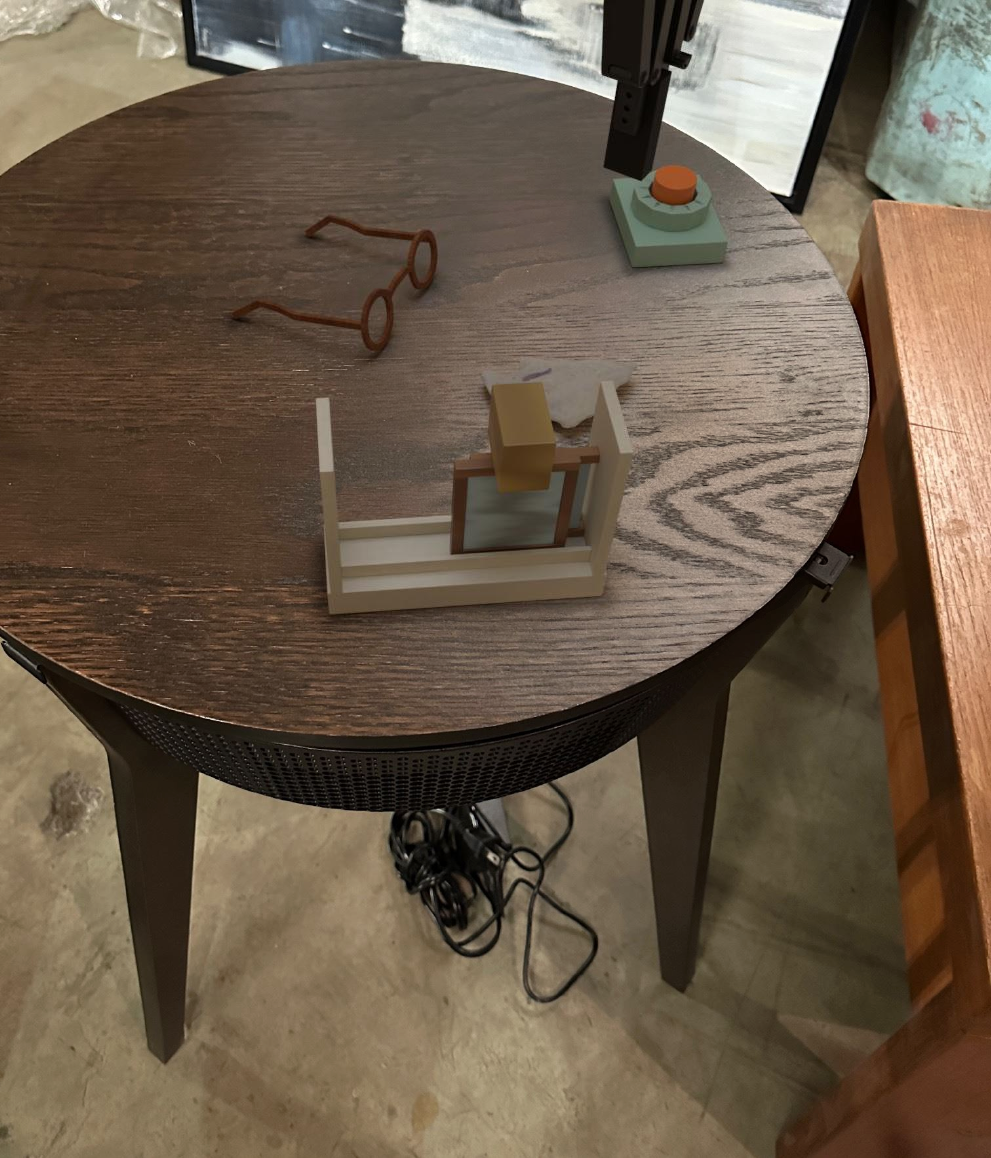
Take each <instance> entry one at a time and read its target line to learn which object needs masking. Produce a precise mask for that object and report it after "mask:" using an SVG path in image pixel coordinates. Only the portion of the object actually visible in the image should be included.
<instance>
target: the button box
mask: <svg viewBox="0 0 991 1158" xmlns="http://www.w3.org/2000/svg"><path fill="white" fill-rule="evenodd" d="M657 170H658V169H655V170H652V171H651V172H650V173H649V174H648V175H647V176H646V177H645V178H644V179H643V180H642V181H638V180H636V179H633V178H630V177H623V178H622V177H621V178H612V182H611V189H610V194H609V202H610V205H611V208H612V211H613V215H614V217H615V220H616V224H617V227H618V230H619V233H620V236H621V239H622V241H623V245H624V248H625V251H626V254H627V257H628V259H629V263H630V266H631V268H645V267H646V268H647V267H664V266H665V267H666V266H685V265H702V264H703V265H704V264H720V263H721V264H722V263H723V261H724V259H725V254H726V250H727V247H728V244H729V241H728V238H727V236H726V234H725V231H724V228H723V227H722V226H723V225H722V224H721V222H720V219H719V217H718V214H717V211H716V210H715V207H714V205H713V203H712V198H713V194H712V192H711V189H710V187H709V185H708V183H707V182H706V181H704V180H703V179H702V177H701V175H700V174H696V176H697V183H696V188H695V192H694V196H693V199H692V201H691V202H690V203H688V204H686V205H677V206H671V205H667V204H664V203H660V202H658V201H657V200H656V199H654V198H653V197H652V194H651V191H652V186H653V181H654V177H655V173H656V171H657Z"/></svg>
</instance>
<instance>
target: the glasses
mask: <svg viewBox="0 0 991 1158" xmlns="http://www.w3.org/2000/svg"><path fill="white" fill-rule="evenodd" d="M331 223H332V224H335V225H339V226H343V227H345V228H348V229H350V230H353V231H355V232H356V233H359V234H360V235H362V236H366V237H374V238H383V239H392V240H401V241H411V243H410V246H409V250H408V254H407V258H406V260H407V261H406V266H405V265H404V266H403V267H401V268H400V269H399V271H398V272H397V273H396V275H395V276H394V277H393V279H392V280H391V281H390V283H389V284H388V287H387V288H379V287H377V288H375V289H374V290H372V291H371V293H369V295H368V296H367V298H366V300H365V301H364V304H363V307H362V310H361V314H360V320H355V319H349V318H341V317H333V316H327V315H321V314H313V313H308V312H307V313H306V312H300V311H295V310H293V309H291V308H288V307H286V306H284V305H282V304H280V303H278V302H274V301H271V300H266V299H262V298H257V299H255V300H253V301H251V302H249V303H247V304H245V305H243V306H241V307H239V308H237V309H235V310H233V311H232V312H231V315H232V316H233V318H234V319H235V320H237V319H239V318H241V317H243V316H245V315H247V314H250V313H251V312H254V311H255V310H258V309H260V308H263V309H266V310H268V311H269V310H270V311H272V312H276V313H278V314H281V315H283V316H285V317H287V318H288V319H291V320H293V321H296V322H303V323H308V324H310V323H311V324H317V325H322V326H329V327H336V328H341V329H342V328H343V329H347V330H348V329H349V330H357V331H360V333H361V334H360V335H361V338H362V342H363V344H364V346H365V348H366V349H368V351H373V352H377V351H380V350H381V349H383V348H384V346H385V345H386V344H387V342H388V341H389V339H390V337H391V334H392V331H393V327H394V321H395V320H394V317H395V315H394V313H395V311H394V303H393V297H394V294H395V291H396V290H397V288H398V287H399V286H400V284H401V283H402V282H403V281H404V279H405V278H406V276H408V277H409V281H410V283H411V285H412V287H413V288H414V289H415V290H420V291H423V290H425V289H426V288H428V287H429V285H430V284H431V282H432V281H433V278H434V276H435V273H436V270H437V265H438V257H439V255H438V254H439V253H438V245H437V240H436V237H435V235H434V233H433V231H431V230H430V229H421V230H419V231H418V232H414V231H403V230H394V229H386V228H385V229H384V228H375V227H367V226H364V225H362V224H359V223H357V222H355V221H353V220H351V219H348V218H345V217H340V216H338V215H337V216H336V215H334V214H333V215H332V214H328V215H327V216H325V217H324V218H322V219H321V220H319V221H318V222H316V223H315V224H314V225H312V226H310V227H309V228H307V229H306V230H304V233H305V234H306V236H307V237H308V238H310V237H311V236H313V235H314V234H316V233H317V232H318V231H320V230H322V229H323V228H324V227H326V226H328V225H330V224H331ZM421 243H428V245H429V250H430V263H429V267H428V271H427V273H426V275H425V277H424V278H422V279H423V280H421V281H420V280H419V278H418V276H417V273H416V267H415V260H416V254H417V251H418V248H419V246H420V244H421ZM380 297H381V298H382V299H383V301H384V304H385V310H386V319H385V320H386V321H385V327H384V330H383V332H382V335H381V336H380V337H379V339H378V340H377V341H375V342H374V341H373V340H372V337H371V334H370V330H369V317H370V312H371V309H372V307H373V305H374V304H375V302H376V301H377V300H378V298H380Z"/></svg>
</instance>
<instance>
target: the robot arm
mask: <svg viewBox="0 0 991 1158" xmlns="http://www.w3.org/2000/svg"><path fill="white" fill-rule="evenodd" d="M602 3H603V7H602V9H603V10H602V33H601V36H602V37H601V63H600V65H601V66H600V75H601V76H603V77H605V78H608V79H612V80H614V81H616V87H615V93H614V99H613V106H612V111H611V116H610V124H609V129H608V135H607V136H608V137H607V142H606V148H605V152H604V153H605V154H604V159H603V160H604V161H603V166H602V168H604V169H606V170H609V171H612V172H614V173H617V174H620V175H622V176H625V177H627V178H633V179H636V180H638V181H642V180H643V179H644V178H645V177H646V176H647V175H648V174H649V173H650V172H652V171H653V168H654V161H655V157H656V152H657V147H658V142H659V139H660V138H659V137H660V132H661V128H662V123H663V120H664V119H663V118H664V113H665V109H666V105H667V104H666V103H667V98H668V94H669V88H670V83H671V79H672V74H673V70H670V66H671V67H674V68H677V69H679V70H683V71H685V70H686V69H687V68H688V67H689V65H690V63H691V61H692V58H693V54H692V53H689V52H685V51H683V50H682V47H683V42H686V43H690V42H691V41H692V40H693V38H694V36H695V35H696V32H697V26H698V23H699V20H700V17H701V13H702V10H703V6H704V3H705V0H603V2H602Z"/></svg>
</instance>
